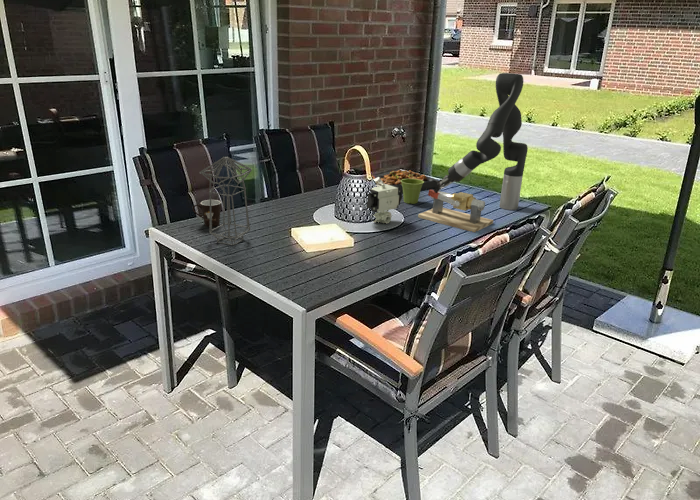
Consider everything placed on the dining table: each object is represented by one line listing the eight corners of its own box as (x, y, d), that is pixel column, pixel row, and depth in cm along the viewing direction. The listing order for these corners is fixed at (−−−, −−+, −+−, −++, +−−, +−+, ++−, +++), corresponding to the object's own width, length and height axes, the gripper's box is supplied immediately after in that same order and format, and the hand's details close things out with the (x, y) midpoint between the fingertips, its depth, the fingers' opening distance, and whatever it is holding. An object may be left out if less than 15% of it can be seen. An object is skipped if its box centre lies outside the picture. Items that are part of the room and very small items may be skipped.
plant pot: (425, 201, 287) (427, 180, 283) (415, 206, 278) (417, 185, 274) (405, 197, 293) (407, 177, 289) (395, 202, 284) (396, 181, 280)
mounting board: (437, 209, 275) (438, 206, 274) (493, 223, 257) (493, 220, 257) (418, 217, 262) (418, 214, 261) (474, 232, 244) (475, 229, 244)
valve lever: (459, 207, 250) (429, 194, 259) (461, 201, 249) (431, 189, 257) (457, 208, 249) (427, 195, 258) (459, 202, 248) (429, 189, 256)
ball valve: (372, 228, 245) (374, 189, 239) (361, 222, 251) (362, 185, 245) (402, 221, 255) (405, 184, 249) (390, 216, 262) (393, 180, 255)
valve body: (435, 209, 269) (437, 186, 264) (483, 222, 253) (486, 197, 249) (426, 213, 263) (428, 189, 259) (475, 226, 248) (478, 201, 243)
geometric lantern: (256, 238, 228) (254, 155, 214) (234, 251, 215) (230, 164, 201) (225, 231, 234) (220, 150, 220) (201, 244, 220) (195, 158, 207)
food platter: (372, 197, 294) (373, 178, 291) (350, 186, 314) (351, 168, 310) (439, 188, 315) (441, 171, 311) (414, 178, 335) (416, 162, 331)
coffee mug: (226, 223, 245) (224, 201, 241) (213, 228, 237) (212, 206, 234) (205, 219, 249) (203, 197, 245) (192, 224, 242) (190, 202, 238)
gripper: (463, 160, 249) (437, 181, 261) (449, 164, 240) (422, 186, 251) (472, 173, 248) (446, 194, 260) (458, 178, 238) (431, 200, 250)
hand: (434, 190), depth 255 cm, fingers closed
